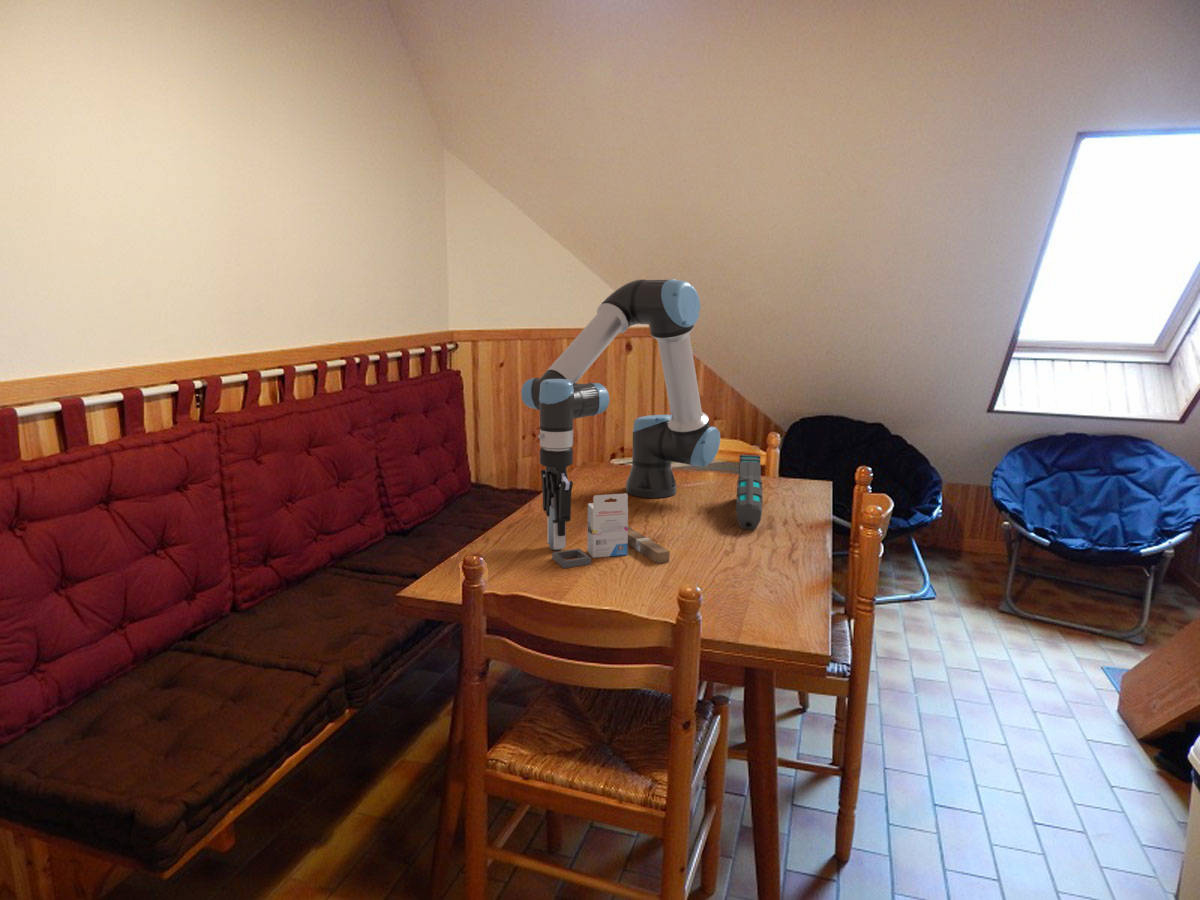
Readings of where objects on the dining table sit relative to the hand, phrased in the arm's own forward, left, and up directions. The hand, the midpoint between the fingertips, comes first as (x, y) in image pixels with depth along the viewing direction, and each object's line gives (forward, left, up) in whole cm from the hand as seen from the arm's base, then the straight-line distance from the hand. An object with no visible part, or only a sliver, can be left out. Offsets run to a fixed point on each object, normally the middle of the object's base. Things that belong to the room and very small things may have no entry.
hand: (556, 545), depth 180 cm
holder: (+9, 0, -1) cm, 9 cm away
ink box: (+7, +10, -1) cm, 12 cm away
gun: (-5, +59, -1) cm, 59 cm away
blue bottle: (0, 0, -1) cm, 1 cm away
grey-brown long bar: (+6, +18, -1) cm, 19 cm away
